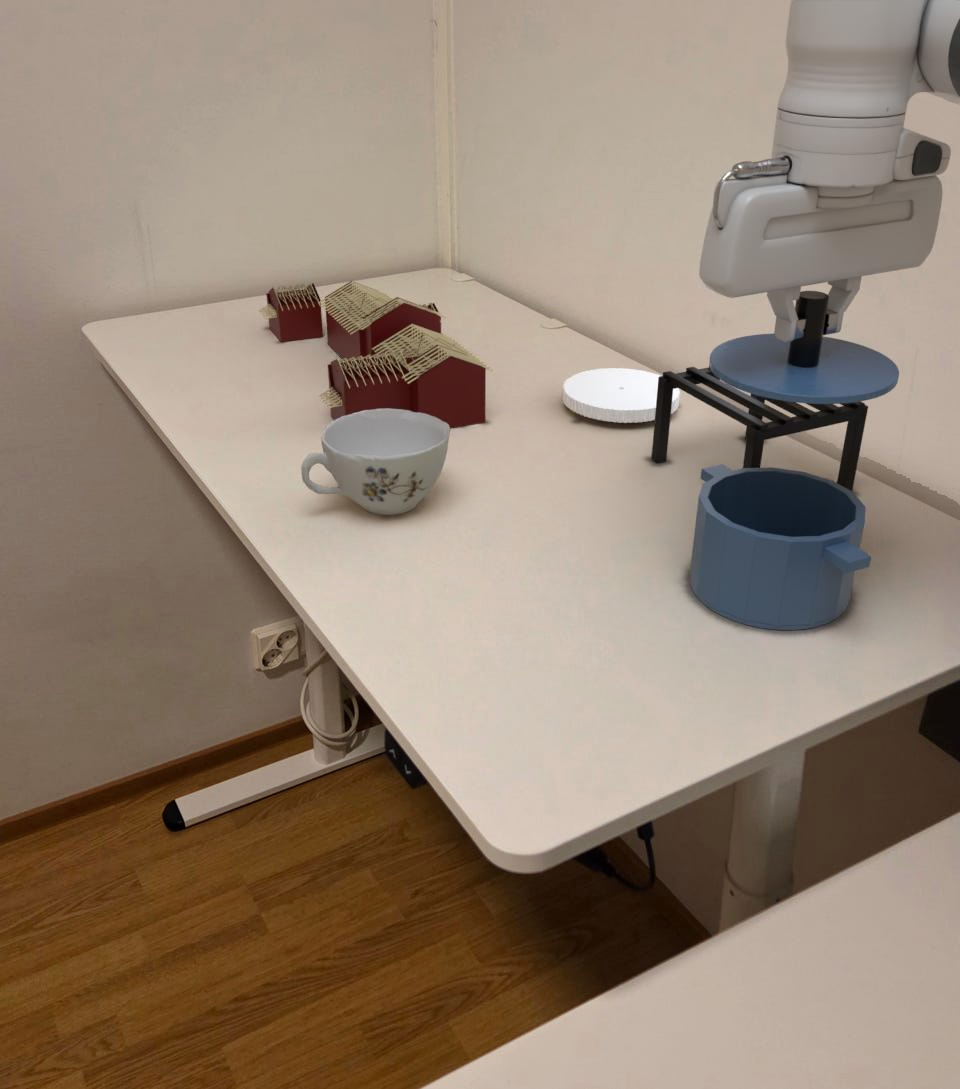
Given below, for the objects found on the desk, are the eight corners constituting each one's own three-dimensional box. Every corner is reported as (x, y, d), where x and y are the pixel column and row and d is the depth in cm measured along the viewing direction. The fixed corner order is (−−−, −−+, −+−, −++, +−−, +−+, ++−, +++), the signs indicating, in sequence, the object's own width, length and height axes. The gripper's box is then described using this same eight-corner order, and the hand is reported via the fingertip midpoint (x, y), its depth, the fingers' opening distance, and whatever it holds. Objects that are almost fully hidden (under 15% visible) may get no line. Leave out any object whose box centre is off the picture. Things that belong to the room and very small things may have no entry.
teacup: (423, 467, 119) (421, 397, 115) (471, 517, 109) (471, 442, 105) (287, 493, 113) (280, 421, 109) (324, 547, 103) (318, 470, 99)
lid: (809, 337, 97) (820, 261, 94) (937, 391, 86) (955, 307, 82) (672, 363, 91) (679, 283, 88) (790, 425, 80) (803, 336, 77)
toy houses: (506, 418, 130) (508, 335, 125) (339, 446, 123) (334, 359, 118) (381, 312, 166) (379, 244, 161) (247, 328, 159) (239, 258, 154)
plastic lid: (579, 435, 126) (580, 414, 125) (549, 390, 138) (550, 371, 137) (695, 426, 129) (697, 406, 128) (655, 383, 141) (657, 364, 140)
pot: (759, 525, 107) (771, 445, 103) (905, 622, 93) (926, 533, 88) (643, 556, 102) (650, 473, 98) (778, 663, 87) (793, 571, 83)
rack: (752, 436, 126) (764, 353, 121) (852, 493, 114) (869, 402, 109) (651, 459, 121) (658, 372, 116) (743, 521, 108) (756, 426, 103)
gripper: (748, 172, 73) (726, 369, 80) (968, 147, 81) (931, 328, 88) (691, 156, 78) (675, 343, 85) (904, 134, 86) (874, 307, 93)
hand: (807, 335), depth 87 cm, fingers closed on lid, 2 cm apart
